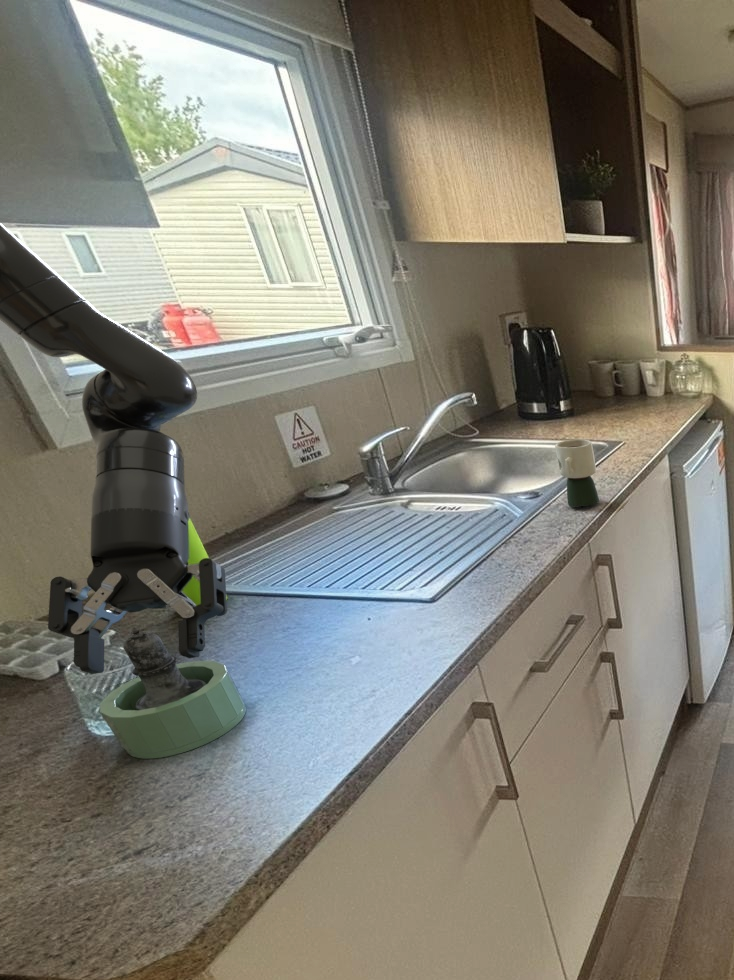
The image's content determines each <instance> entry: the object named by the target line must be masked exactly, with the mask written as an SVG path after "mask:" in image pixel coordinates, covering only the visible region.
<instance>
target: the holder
mask: <svg viewBox="0 0 734 980" xmlns="http://www.w3.org/2000/svg"><path fill="white" fill-rule="evenodd" d="M175 664H176V666H177V668H178V669H179V671H180V673H181V675H182V676H183V677H184V678H185V679H186V680H187V679H199V680H202V681H204V682H205V683H206V685H205V686H204V687H202V688H201V689H199V690H198V691H196V692H194V693H192V694H190V695H188V696H186V697H184V698H182V699H180V700H178V701H174V702H171V703H168V704H165V705H162V706H159V707H155V708H149V709H143V710H137V708H136V703H137V701H138V700H139V699H140V698H141V697H142V696H144V695H145V694H146V689H145V686H144V684H143V682H142V681H141V679H140V677H139V676H137V677H135V678H132V679H130V680H128V681H126V682H125V683H123V684H121V685H120V686H118V687H116V688H115V689H114V690H112V691H111V692H109V693H108V694H107V695H106V696H105V697H104V699H102V700H101V702H100V703H99V713H100V715H101V716H102V718H103V720H104V721H105V723H106V725H107V726H108V727H109V730H110V731H111V732H112V734H113V735H114V737H115V739H116V740H117V742H118V743H119V745H120V746H121V747H122V749H124V750H125V752H126V753H127V754H128V755H129V756H131V757H133V758H137V759H147V760H148V759H149V760H150V759H151V760H152V759H160V758H166V757H171V756H175V755H180V754H183V753H186V752H189V751H192V750H195V749H197V748H200V747H202V746H204V745H207V744H209V743H211V742H213V741H215V740H217V739H219V738H220V737H222V736H224V735H225V734H227V733H229V732H230V731H231V730H233V729H234V728H235V727H236V726H237V725H239V723H240V722H241V721H242V720H243V719H244V717H245V715H246V712H247V707H246V704H245V703H244V700H243V697H242V694H241V693H240V690H239V689H238V687H237V685H236V684H235V682H234V680H233V678H232V675H231V674H230V672H229V669H228V668H227V666H226V665H225V664H224V663H221V662H218V661H215V660H194V661H186V662H182V663H181V662H180V663H175Z"/></svg>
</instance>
